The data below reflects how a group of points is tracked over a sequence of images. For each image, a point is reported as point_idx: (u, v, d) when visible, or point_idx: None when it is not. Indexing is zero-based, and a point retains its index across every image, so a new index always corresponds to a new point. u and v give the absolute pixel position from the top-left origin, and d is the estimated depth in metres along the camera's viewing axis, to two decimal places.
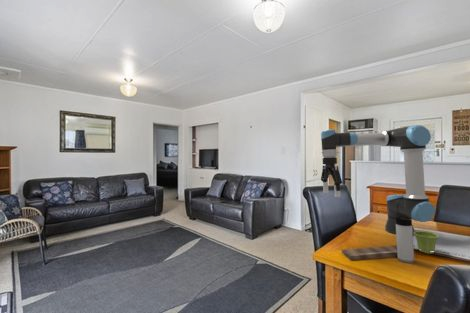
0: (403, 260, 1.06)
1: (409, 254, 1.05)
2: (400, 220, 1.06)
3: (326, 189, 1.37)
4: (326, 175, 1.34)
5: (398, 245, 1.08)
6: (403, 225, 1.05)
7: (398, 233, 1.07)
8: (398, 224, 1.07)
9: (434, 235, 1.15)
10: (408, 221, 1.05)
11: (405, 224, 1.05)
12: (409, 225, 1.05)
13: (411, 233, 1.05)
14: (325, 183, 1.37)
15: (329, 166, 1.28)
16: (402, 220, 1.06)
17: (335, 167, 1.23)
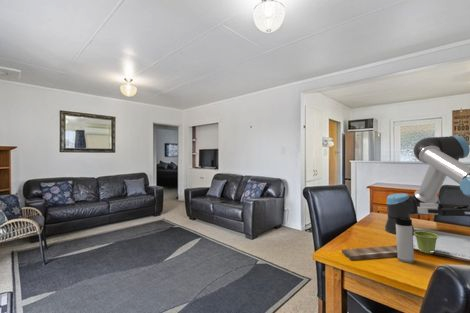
0: (403, 260, 1.06)
1: (409, 254, 1.05)
2: (400, 220, 1.06)
3: None
4: None
5: (398, 245, 1.08)
6: (403, 225, 1.05)
7: (398, 233, 1.07)
8: (398, 224, 1.07)
9: (434, 235, 1.15)
10: (408, 221, 1.05)
11: (405, 224, 1.05)
12: (409, 225, 1.05)
13: (411, 233, 1.05)
14: None
15: None
16: (402, 220, 1.06)
17: None
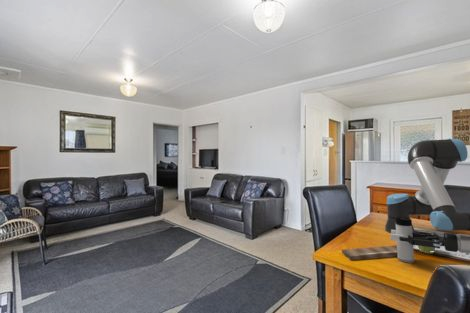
0: (403, 260, 1.06)
1: (409, 254, 1.05)
2: (400, 220, 1.06)
3: None
4: None
5: (398, 245, 1.08)
6: (403, 225, 1.05)
7: (398, 233, 1.07)
8: (398, 224, 1.07)
9: None
10: (408, 221, 1.05)
11: (405, 224, 1.05)
12: (409, 225, 1.05)
13: (411, 233, 1.05)
14: None
15: None
16: (402, 220, 1.06)
17: None
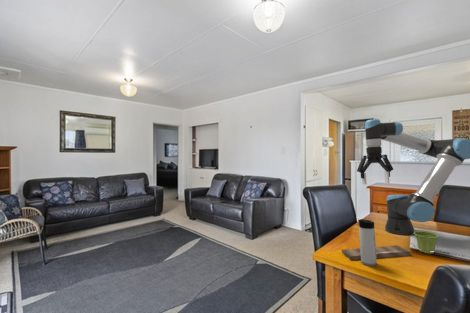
0: (365, 263, 1.05)
1: (371, 257, 1.03)
2: (362, 223, 1.05)
3: (386, 179, 1.33)
4: (380, 164, 1.34)
5: (361, 248, 1.07)
6: (365, 227, 1.04)
7: (361, 236, 1.06)
8: (361, 227, 1.06)
9: (434, 235, 1.15)
10: (370, 224, 1.04)
11: (367, 227, 1.04)
12: (371, 228, 1.04)
13: (373, 236, 1.04)
14: (385, 172, 1.34)
15: None
16: (364, 223, 1.04)
17: (362, 156, 1.33)
